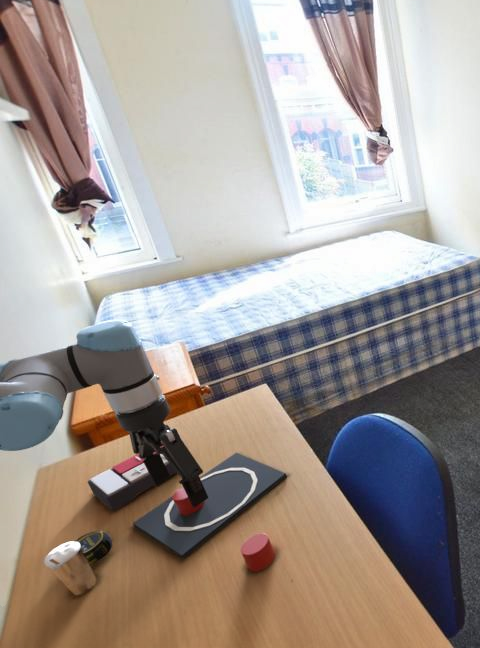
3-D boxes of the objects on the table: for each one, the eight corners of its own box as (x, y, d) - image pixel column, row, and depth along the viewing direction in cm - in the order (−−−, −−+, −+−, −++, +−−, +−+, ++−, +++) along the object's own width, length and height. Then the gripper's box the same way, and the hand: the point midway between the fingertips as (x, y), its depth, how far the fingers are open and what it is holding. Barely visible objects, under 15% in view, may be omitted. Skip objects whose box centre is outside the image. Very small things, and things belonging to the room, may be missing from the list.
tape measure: (65, 563, 86) (55, 548, 85) (110, 536, 91) (101, 522, 90) (74, 582, 82) (64, 567, 81) (120, 553, 87) (111, 538, 86)
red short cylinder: (258, 575, 80) (250, 558, 78) (242, 565, 82) (235, 549, 80) (280, 554, 83) (273, 538, 82) (264, 545, 86) (258, 529, 84)
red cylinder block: (187, 518, 92) (179, 503, 91) (175, 511, 94) (167, 496, 93) (209, 502, 96) (202, 487, 94) (197, 495, 98) (190, 481, 96)
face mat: (183, 559, 85) (181, 555, 84) (134, 526, 93) (132, 522, 93) (287, 476, 102) (285, 472, 101) (237, 455, 110) (236, 452, 110)
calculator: (183, 452, 107) (105, 495, 96) (189, 468, 109) (113, 511, 97) (162, 439, 113) (85, 478, 101) (167, 454, 115) (92, 493, 103)
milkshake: (62, 608, 78) (32, 566, 74) (72, 582, 82) (44, 542, 78) (96, 594, 80) (68, 553, 76) (104, 570, 84) (78, 529, 80)
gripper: (198, 405, 82) (236, 497, 90) (128, 379, 94) (167, 462, 102) (152, 430, 76) (197, 526, 84) (83, 399, 88) (129, 486, 96)
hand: (181, 491), depth 93 cm, fingers open, 13 cm apart
